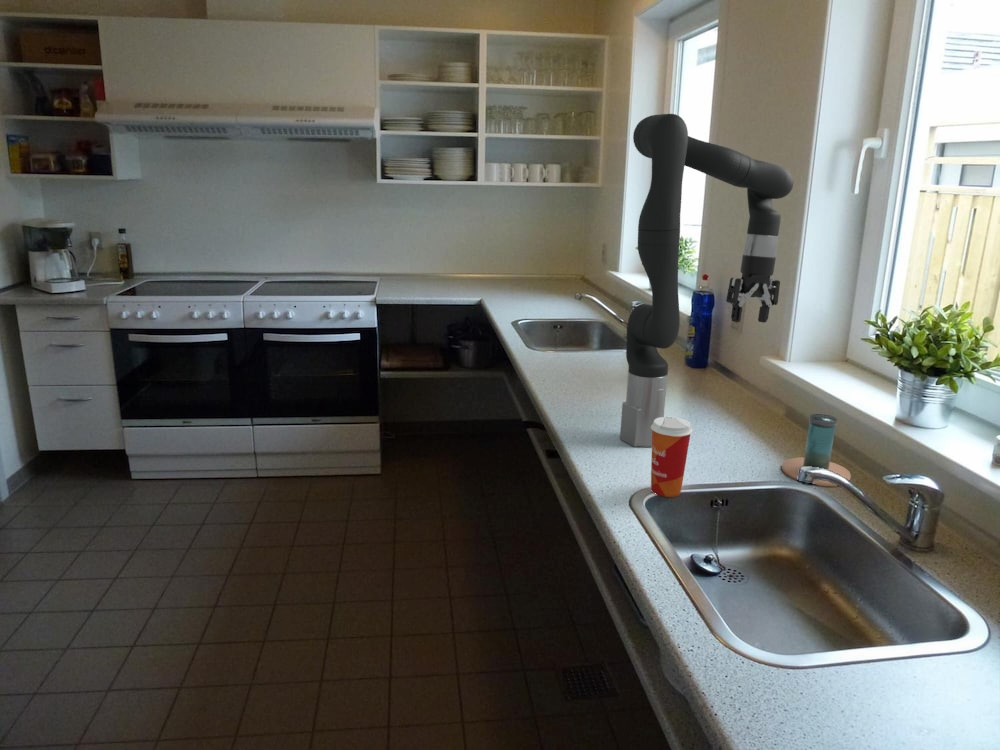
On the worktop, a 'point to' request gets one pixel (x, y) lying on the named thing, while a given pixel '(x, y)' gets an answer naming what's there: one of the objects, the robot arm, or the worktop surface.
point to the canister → (819, 440)
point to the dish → (794, 464)
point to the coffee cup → (669, 455)
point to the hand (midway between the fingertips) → (749, 321)
